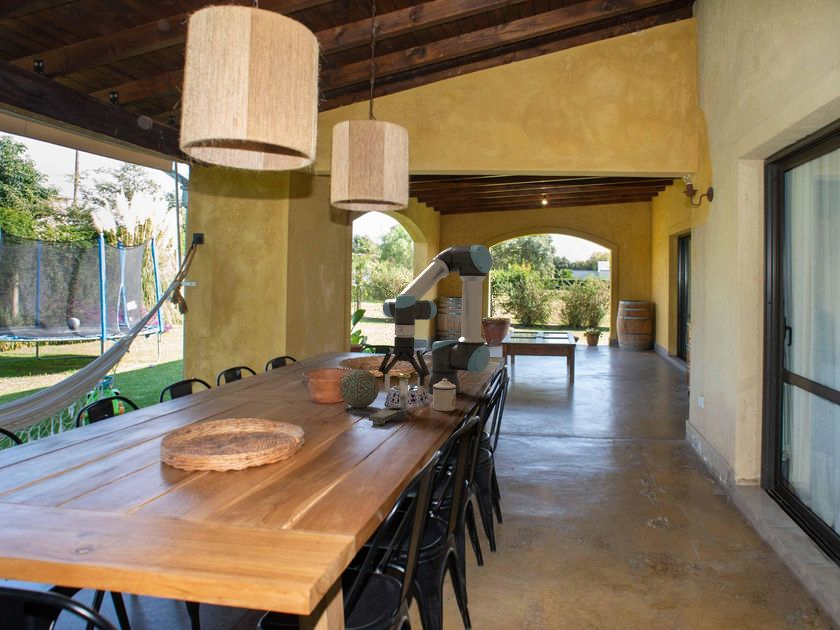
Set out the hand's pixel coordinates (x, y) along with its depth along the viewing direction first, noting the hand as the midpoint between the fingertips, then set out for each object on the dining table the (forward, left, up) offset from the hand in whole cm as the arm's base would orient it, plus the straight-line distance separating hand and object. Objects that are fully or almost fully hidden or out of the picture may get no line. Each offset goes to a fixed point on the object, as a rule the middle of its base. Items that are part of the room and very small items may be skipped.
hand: (403, 392), depth 223 cm
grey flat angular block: (+15, -4, -7) cm, 18 cm away
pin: (0, 0, -7) cm, 7 cm away
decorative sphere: (+2, -18, -7) cm, 19 cm away
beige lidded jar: (-13, +11, -7) cm, 19 cm away
